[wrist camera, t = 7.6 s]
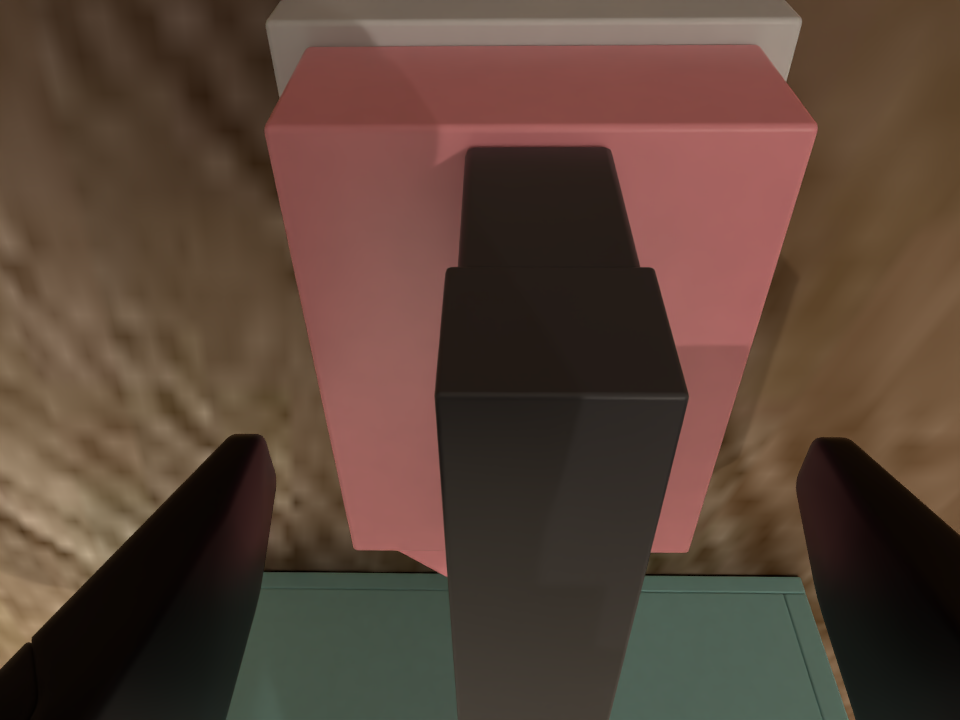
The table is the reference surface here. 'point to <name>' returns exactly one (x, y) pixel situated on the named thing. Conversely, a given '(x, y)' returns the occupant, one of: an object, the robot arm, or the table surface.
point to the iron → (533, 294)
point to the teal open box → (430, 667)
